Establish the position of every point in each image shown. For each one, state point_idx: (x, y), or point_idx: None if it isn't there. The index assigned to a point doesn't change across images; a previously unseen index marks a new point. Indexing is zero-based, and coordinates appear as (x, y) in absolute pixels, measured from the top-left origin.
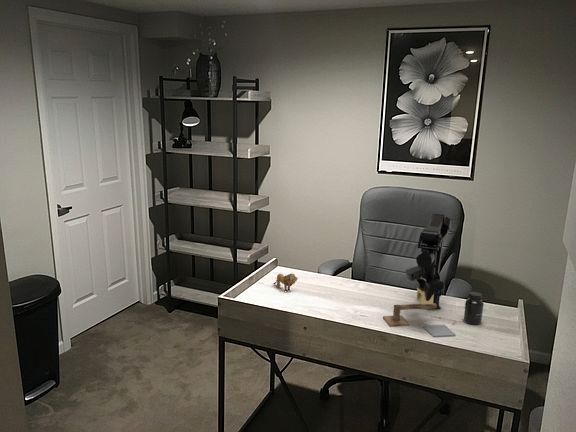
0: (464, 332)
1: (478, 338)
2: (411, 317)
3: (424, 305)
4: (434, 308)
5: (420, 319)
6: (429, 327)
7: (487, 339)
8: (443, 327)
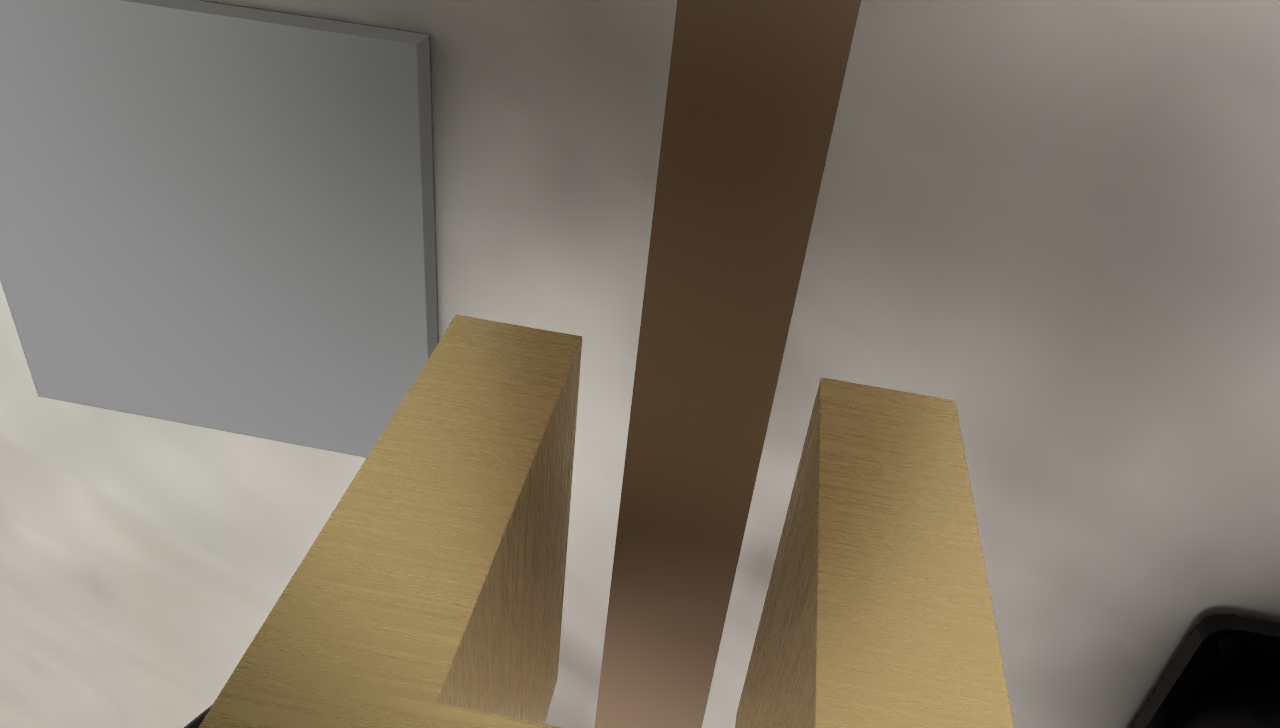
0: (204, 559)
1: (35, 590)
2: (1011, 68)
3: (628, 452)
4: (1140, 720)
5: (823, 216)
6: (308, 128)
7: (25, 652)
8: (311, 384)
